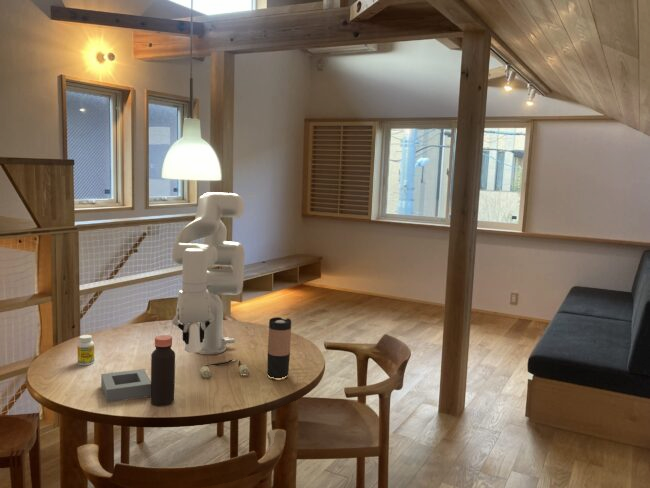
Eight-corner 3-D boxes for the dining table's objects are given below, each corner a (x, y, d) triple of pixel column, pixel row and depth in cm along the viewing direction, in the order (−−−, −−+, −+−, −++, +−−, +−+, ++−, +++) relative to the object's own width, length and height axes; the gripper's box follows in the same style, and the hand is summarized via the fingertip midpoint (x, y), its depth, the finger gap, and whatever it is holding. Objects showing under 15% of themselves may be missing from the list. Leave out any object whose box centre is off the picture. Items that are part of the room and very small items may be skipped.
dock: (144, 380, 180) (144, 368, 179) (151, 396, 169) (152, 383, 168) (101, 386, 174) (101, 374, 173) (106, 402, 162) (106, 389, 162)
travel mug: (271, 381, 185) (274, 324, 182) (263, 373, 192) (265, 318, 189) (292, 379, 189) (295, 322, 186) (283, 371, 195) (286, 316, 192)
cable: (196, 364, 198) (197, 355, 198) (242, 362, 203) (242, 353, 203) (200, 380, 184) (201, 370, 183) (249, 377, 189) (249, 368, 188)
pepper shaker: (186, 353, 175) (186, 320, 173) (183, 347, 179) (183, 315, 178) (203, 352, 177) (204, 319, 175) (200, 346, 182) (200, 314, 180)
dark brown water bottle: (145, 403, 163) (146, 338, 161) (160, 395, 170) (161, 332, 167) (164, 408, 161) (165, 342, 158) (178, 399, 167) (180, 336, 165)
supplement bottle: (92, 359, 196) (92, 333, 194) (95, 364, 191) (95, 337, 190) (76, 361, 193) (76, 335, 191) (79, 366, 188) (78, 339, 187)
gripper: (216, 282, 182) (215, 335, 185) (165, 285, 174) (164, 341, 177) (223, 288, 175) (222, 342, 178) (170, 291, 167) (169, 349, 170)
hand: (193, 341), depth 178 cm, fingers closed on pepper shaker, 3 cm apart
